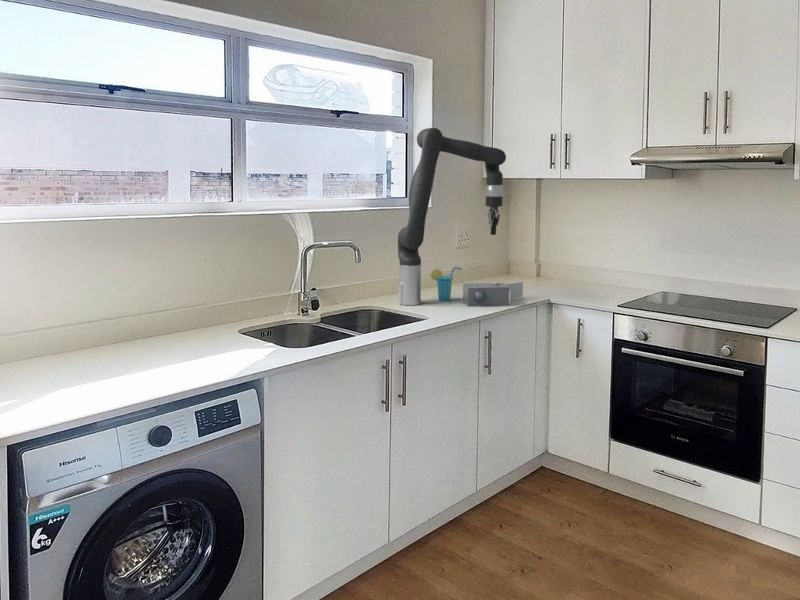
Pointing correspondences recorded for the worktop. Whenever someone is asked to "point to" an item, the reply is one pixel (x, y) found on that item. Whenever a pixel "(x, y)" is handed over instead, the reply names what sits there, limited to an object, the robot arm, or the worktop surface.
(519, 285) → the side door
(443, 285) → the cup
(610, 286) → the worktop surface
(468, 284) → the grey knobbed box
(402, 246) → the robot arm
